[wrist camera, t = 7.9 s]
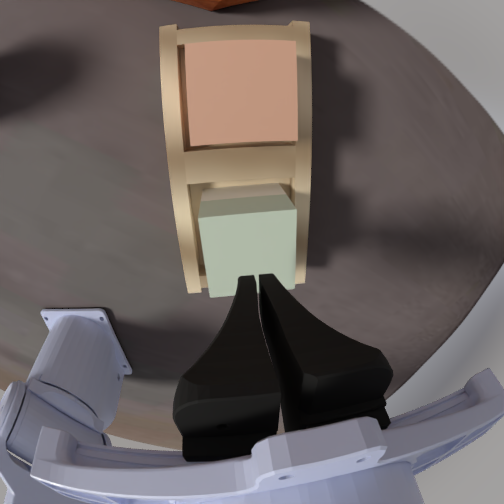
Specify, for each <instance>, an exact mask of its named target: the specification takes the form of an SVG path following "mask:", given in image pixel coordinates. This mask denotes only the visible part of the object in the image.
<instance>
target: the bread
mask: <svg viewBox="0 0 504 504" xmlns="http://www.w3.org/2000/svg"><path fill="white" fill-rule="evenodd" d="M172 1H177V2H181V3H184V4H188V5H192V6H195V7H199V8H202V9H206V10H209V11H213V10H217V9H221V8H225V7H229V6H233V5H237V4H242V3H247V2H252V1H257V0H172Z"/></svg>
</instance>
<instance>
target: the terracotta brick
mask: <svg viewBox="0 0 504 504" xmlns="http://www.w3.org/2000/svg"><path fill="white" fill-rule="evenodd" d="M185 68H186V88H187V105H188V120H189V133H190V146H199V145H210V144H223V143H239V142H260V141H298V97H297V56H296V41H288V40H224V41H209V42H197V43H188V44H185Z"/></svg>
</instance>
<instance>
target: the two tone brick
mask: <svg viewBox="0 0 504 504" xmlns="http://www.w3.org/2000/svg"><path fill="white" fill-rule="evenodd" d="M198 222H199V229H200V236H201V243H202V250H203V256H204V263H205V269H206V275H207V282H208V288H209V294H210V298H211V297H222V296H232V295H235V294H236V290H237V284H238V278H239V277H240V276H246V275H254V277H255V280H256V283H257V293H259V274H269V273H273V274H274V275H275V276H276V277H277V279H278V280H279V281H280V282H281V284H282V285H283V286H284V287H285V288H286V289H295V267H296V228H297V209H296V208H295V206H294V205H293V203H292V202H291V200H290V199H289V197H288V196H287V195H286V193H285V192H284V190H283V189H282V187H281V186H280V185H279V183H265V184H252V185H240V186H228V187H218V188H208V189H203V190H202V196H201V202H200V208H199V215H198Z"/></svg>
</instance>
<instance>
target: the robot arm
mask: <svg viewBox="0 0 504 504" xmlns="http://www.w3.org/2000/svg"><path fill="white" fill-rule="evenodd" d="M259 308H260V316H261V323H262V327H261V323H260V319H259V313H258V298H257V283H256V280H255V277H254V275H246V276H240V277H239V278H238V284H237V290H236V294H235V297H234V300H233V303H232V306H231V308H230V311H229V313H228V315H227V318H226V320H225V322H224V324H223V326H222V327H221V329H220V331H219V333H218V334H217V336H216V337H215V339H214V340H213V342H212V343H211V345H210V346H209V347H208V349H207V350H206V351H205V352H204V354H203V355H202V356H201V357H200V358H199V359H198V361H197V362H196V363H195V364H194V365H193V366H192V367H191V368H190V369H189V370H188V371H187V372H186V373H185V374H183V375H182V376H181V378H180V381H179V383H178V386H177V389H176V393H175V397H174V402H173V420H174V422H175V424H176V426H177V428H178V429H179V431H180V433H181V435H182V436H183V444H182V451H158V450H143V449H131V448H122V447H114V446H112V445H111V441H110V439H109V437H108V436H107V435H106V434H105V433H103V430H105V429H106V428H107V427H108V426H109V425H110V424H111V423H112V422H113V420H114V418H115V416H116V412H117V406H118V401H119V396H120V392H121V387H122V382H123V378H124V374H128V375H129V374H132V368H131V366H130V365H129V363H128V360H127V358H126V356H125V354H124V352H123V350H122V348H121V346H120V344H119V342H118V339H117V337H116V335H115V333H114V330H113V328H112V326H111V324H110V321H109V319H108V316H107V314H106V312H105V311H104V310H103V309H100V308H94V309H42V311H41V315H42V317H43V319H44V321H45V323H46V325H47V327H48V328H49V330H50V332H49V334H48V336H47V338H46V340H45V342H44V344H43V346H42V348H41V350H40V352H39V355H38V357H37V359H36V361H35V363H34V365H33V368H32V370H31V372H30V374H29V377H28V379H27V381H26V383H23V382H22V381H20V380H18V381H17V382H12V383H11V384H10V385H9V386H8V388H7V390H6V391H5V393H4V395H3V397H2V399H1V401H0V477H1V478H2V480H3V481H4V483H5V484H6V486H7V487H8V488H7V493H6V496H5V501H4V504H424V501H423V498H422V496H421V493H420V490H419V488H418V485H417V482H416V480H415V477H414V475H416V474H418V473H420V472H422V471H424V470H426V469H428V468H430V467H431V466H433V465H435V464H437V463H439V462H441V461H442V460H444V459H445V458H447V457H449V456H451V455H452V454H454V453H456V452H457V451H459V450H460V449H462V448H464V447H465V446H467V445H468V444H470V443H472V442H473V441H475V440H476V439H478V438H479V437H481V436H482V435H484V434H485V433H486V432H487V431H488V430H489V429H491V428H492V427H493V426H494V425H495V424H496V423H497V421H499V420H500V419H501V418H502V417H503V416H504V389H503V387H502V386H501V384H500V382H499V381H498V380H497V378H496V377H495V375H494V374H493V372H492V371H491V369H490V368H487V369H485V370H483V371H481V372H479V373H477V374H475V375H474V376H473V377H471V378H470V379H469V381H468V382H467V383H466V385H465V386H464V388H462V389H461V390H458V391H456V392H454V393H452V394H450V395H448V396H446V397H443V398H441V399H439V400H437V401H434V402H432V403H430V404H427V405H425V406H422V407H420V408H417V409H415V410H412V411H409V412H407V413H404V414H402V415H399V416H396V417H393V418H390V419H389V416H388V414H387V412H386V410H385V406H386V401H385V398H384V396H383V395H384V393H385V392H386V390H387V388H388V386H389V384H390V382H391V380H392V377H393V370H392V368H391V367H390V365H389V363H388V361H387V359H386V358H385V356H384V355H383V354H382V352H381V351H380V350H379V349H377V348H374V347H371V346H368V345H365V344H363V343H360V342H358V341H356V340H353V339H351V338H349V337H347V336H345V335H343V334H341V333H339V332H338V331H336V330H334V329H333V328H331V327H329V326H328V325H326V324H325V323H323V322H322V321H320V320H319V319H318V318H316V317H315V316H314V315H312V314H311V313H310V312H309V311H308V310H307V309H305V308H304V307H303V306H302V305H301V304H300V303H299V302H298V301H297V300H296V299H295V298H294V297H293V296H292V295H291V294H290V293H289V292H288V291H287V289H286V288H285V287H284V286H283V285H282V284H281V282H280V281H279V280H278V279H277V277H276V276H275V275H274V274H273V273H269V274H259ZM102 317H103V318H102ZM262 329H263V331H262ZM263 332H264V335H263ZM264 336H265V339H266V342H265V339H264ZM266 343H267V346H268V349H267V346H266ZM268 350H269V352H268ZM269 353H270V356H269ZM270 357H271V359H270ZM271 360H272V362H271ZM272 363H273V365H272ZM273 367H274V368H273ZM280 404H281V410H282V416H283V423H284V429H285V433H281V434H277V431H278V422H279V412H280ZM276 434H277V435H276ZM6 449H7V450H9V451H10V452H12V453H14V454H15V455H17V456H19V457H20V458H22V459H24V460H26V461H27V462H29V463H31V464H32V466H29V465H28V464H26V463H24V462H23V461H21V460H19V459H17V458H16V457H14V456H13V455H11V454H10V453H9V452H8V451H7V450H6Z"/></svg>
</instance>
